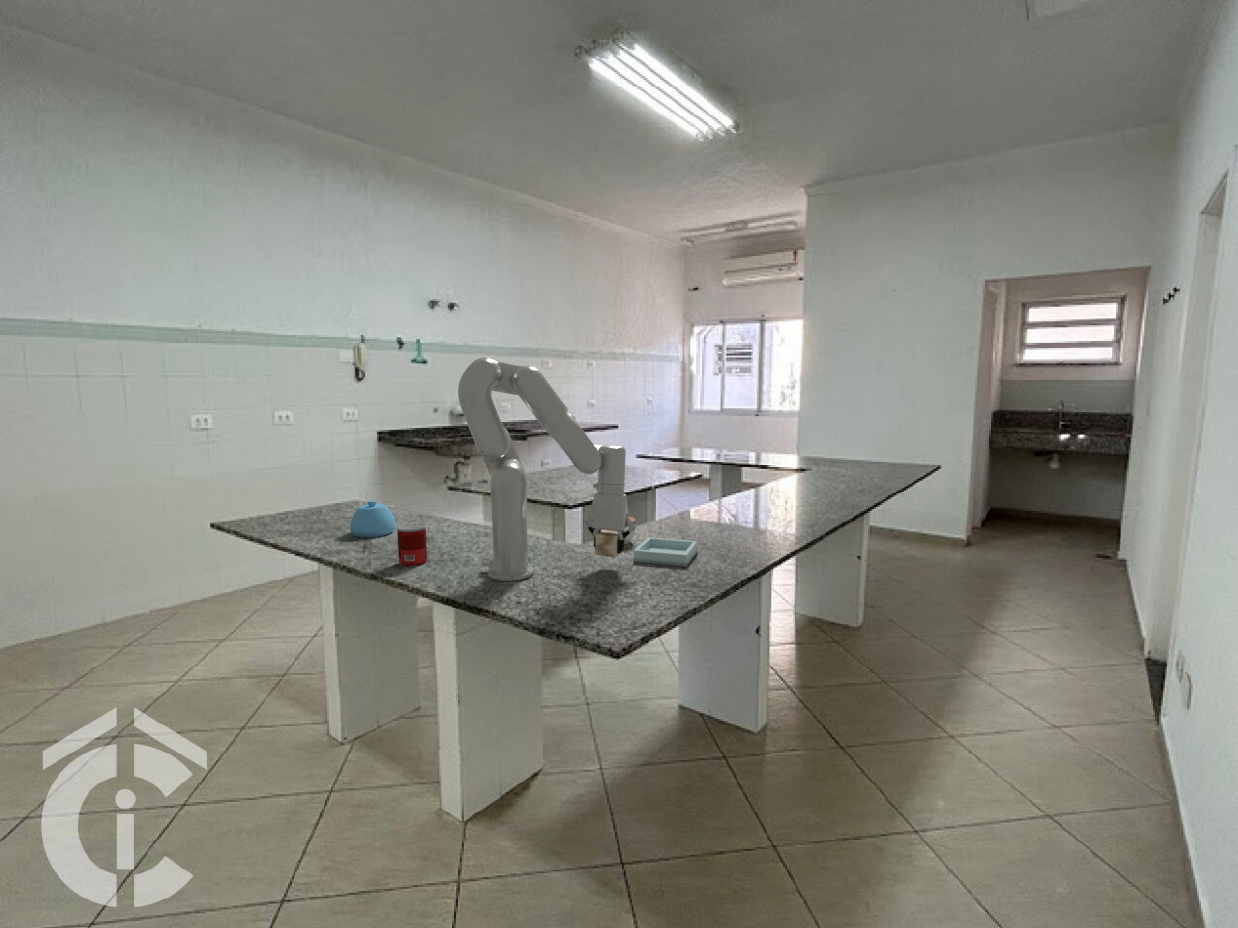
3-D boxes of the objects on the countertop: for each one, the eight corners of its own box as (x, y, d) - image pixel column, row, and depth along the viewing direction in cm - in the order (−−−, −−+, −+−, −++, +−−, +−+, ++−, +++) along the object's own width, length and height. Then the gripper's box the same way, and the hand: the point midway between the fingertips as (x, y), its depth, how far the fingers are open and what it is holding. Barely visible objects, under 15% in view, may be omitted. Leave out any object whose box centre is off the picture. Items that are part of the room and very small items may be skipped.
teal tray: (633, 561, 184) (633, 550, 183) (648, 547, 199) (648, 537, 198) (686, 566, 179) (686, 555, 178) (697, 552, 194) (697, 541, 194)
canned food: (432, 562, 184) (430, 526, 182) (407, 568, 178) (405, 531, 177) (419, 557, 189) (417, 522, 188) (394, 563, 183) (392, 526, 182)
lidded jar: (618, 548, 199) (618, 519, 197) (597, 541, 207) (596, 514, 205) (642, 542, 206) (642, 514, 204) (621, 536, 214) (621, 509, 212)
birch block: (595, 554, 175) (595, 534, 174) (602, 549, 181) (603, 529, 180) (615, 557, 173) (615, 536, 172) (621, 552, 179) (622, 532, 178)
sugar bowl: (341, 537, 213) (339, 504, 212) (366, 527, 228) (364, 496, 226) (381, 539, 211) (379, 505, 209) (403, 528, 225) (402, 497, 224)
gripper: (577, 488, 174) (575, 550, 176) (636, 493, 168) (633, 558, 171) (587, 484, 181) (585, 544, 183) (643, 489, 175) (641, 551, 178)
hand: (608, 550), depth 177 cm, fingers closed on birch block, 6 cm apart
